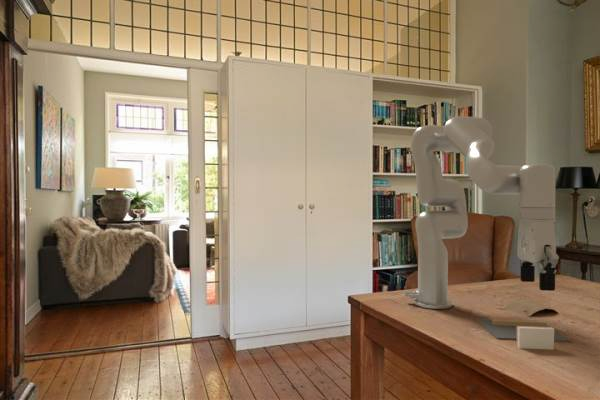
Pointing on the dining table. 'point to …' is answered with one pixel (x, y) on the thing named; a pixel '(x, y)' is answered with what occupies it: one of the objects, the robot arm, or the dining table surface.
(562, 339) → the mat
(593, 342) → the dining table surface
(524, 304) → the clay tablet
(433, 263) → the robot arm
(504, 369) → the dining table surface
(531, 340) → the tile
